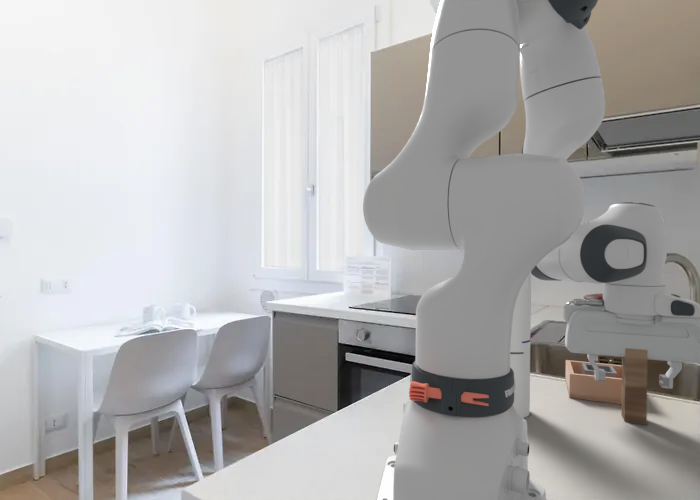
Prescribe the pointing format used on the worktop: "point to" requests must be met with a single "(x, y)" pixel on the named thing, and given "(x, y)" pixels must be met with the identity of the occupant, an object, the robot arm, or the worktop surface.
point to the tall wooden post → (634, 386)
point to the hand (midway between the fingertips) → (632, 383)
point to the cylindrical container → (521, 348)
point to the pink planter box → (594, 382)
